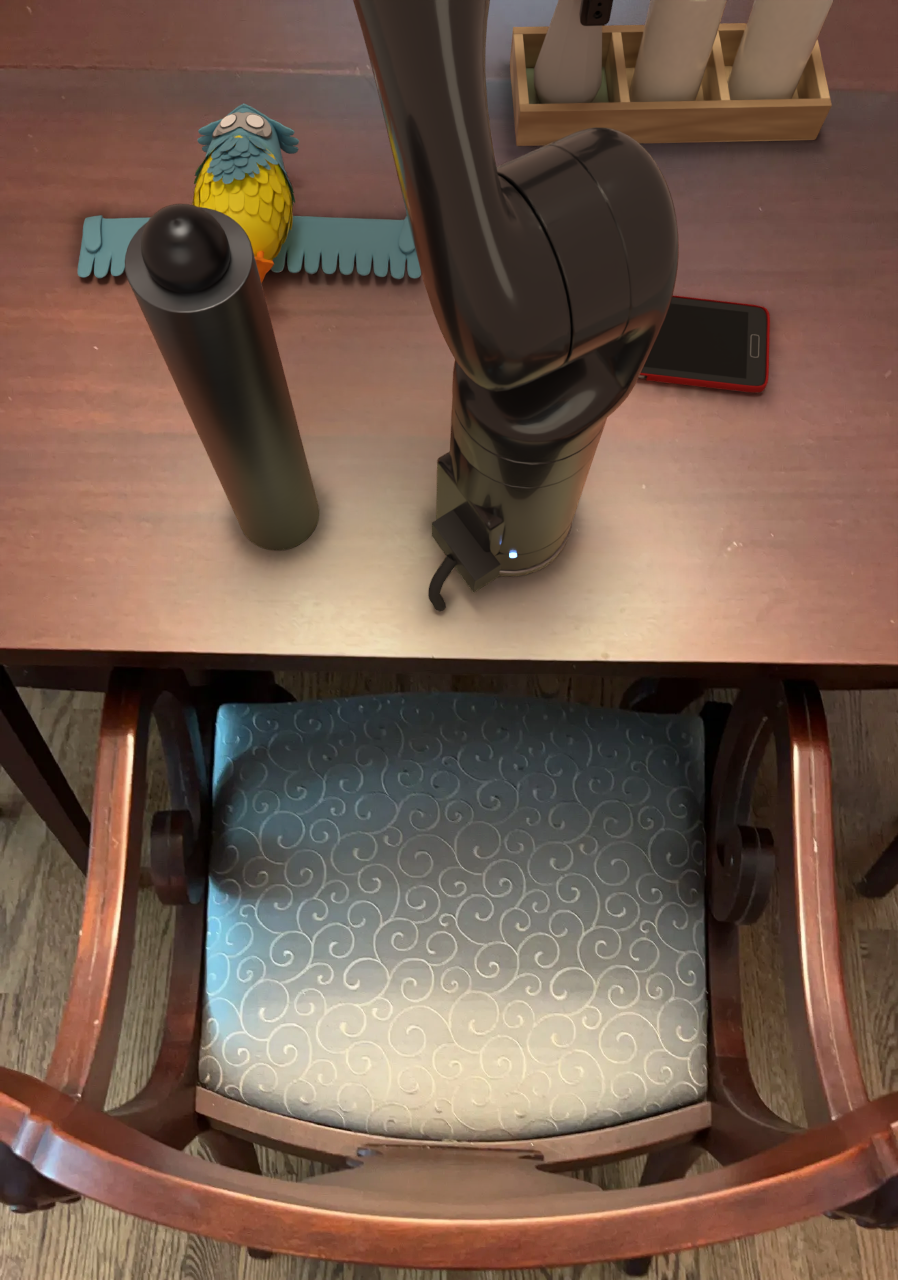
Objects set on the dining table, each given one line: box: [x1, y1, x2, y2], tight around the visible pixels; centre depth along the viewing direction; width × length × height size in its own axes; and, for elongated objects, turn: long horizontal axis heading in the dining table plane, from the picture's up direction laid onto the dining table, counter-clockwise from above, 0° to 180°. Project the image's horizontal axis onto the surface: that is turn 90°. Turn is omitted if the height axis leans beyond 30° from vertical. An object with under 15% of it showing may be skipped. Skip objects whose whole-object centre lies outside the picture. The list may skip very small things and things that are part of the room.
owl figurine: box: [77, 102, 422, 284], centre depth 75 cm, size 28×9×15 cm
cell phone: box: [638, 294, 771, 393], centre depth 76 cm, size 8×15×1 cm, turn 83°
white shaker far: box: [727, 0, 835, 100], centre depth 77 cm, size 6×6×13 cm
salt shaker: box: [534, 0, 602, 104], centre depth 77 cm, size 6×6×13 cm
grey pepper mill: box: [124, 203, 320, 551], centre depth 57 cm, size 6×6×30 cm
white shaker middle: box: [629, 0, 728, 102], centre depth 77 cm, size 6×6×13 cm
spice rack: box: [509, 22, 833, 147], centre depth 82 cm, size 9×26×4 cm, turn 93°
